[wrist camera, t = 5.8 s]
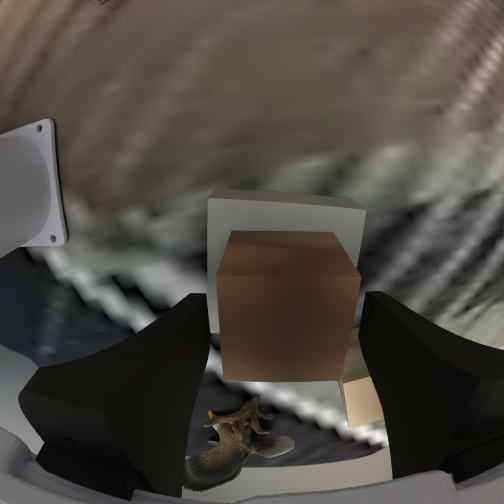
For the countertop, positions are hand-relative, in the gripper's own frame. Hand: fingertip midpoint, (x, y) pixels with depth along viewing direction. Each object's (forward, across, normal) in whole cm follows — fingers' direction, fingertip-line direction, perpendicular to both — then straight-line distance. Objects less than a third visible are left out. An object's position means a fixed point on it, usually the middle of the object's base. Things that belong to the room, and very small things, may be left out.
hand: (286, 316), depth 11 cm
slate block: (+6, 0, 0) cm, 6 cm away
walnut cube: (+3, 0, 0) cm, 3 cm away
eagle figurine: (+6, +3, +14) cm, 16 cm away
